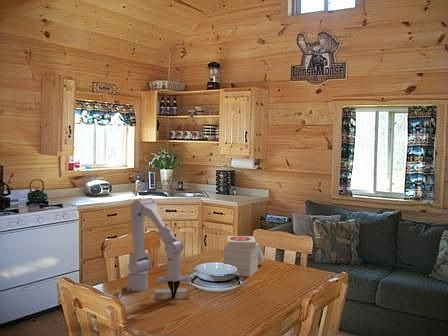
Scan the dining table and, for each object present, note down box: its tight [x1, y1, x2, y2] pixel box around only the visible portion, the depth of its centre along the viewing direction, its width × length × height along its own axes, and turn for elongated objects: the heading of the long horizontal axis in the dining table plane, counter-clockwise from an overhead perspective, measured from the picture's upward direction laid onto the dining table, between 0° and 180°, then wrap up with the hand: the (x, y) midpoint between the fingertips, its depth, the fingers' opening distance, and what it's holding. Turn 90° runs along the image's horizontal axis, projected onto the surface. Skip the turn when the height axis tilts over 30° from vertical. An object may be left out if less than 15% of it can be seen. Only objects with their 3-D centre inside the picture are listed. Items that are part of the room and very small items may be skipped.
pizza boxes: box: [223, 235, 265, 278], centre depth 266 cm, size 19×30×18 cm, turn 159°
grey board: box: [154, 287, 188, 295], centre depth 222 cm, size 15×6×2 cm, turn 99°
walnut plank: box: [154, 292, 190, 301], centre depth 214 cm, size 15×9×2 cm, turn 99°
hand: (173, 297), depth 212 cm, fingers closed, pressing on walnut plank
